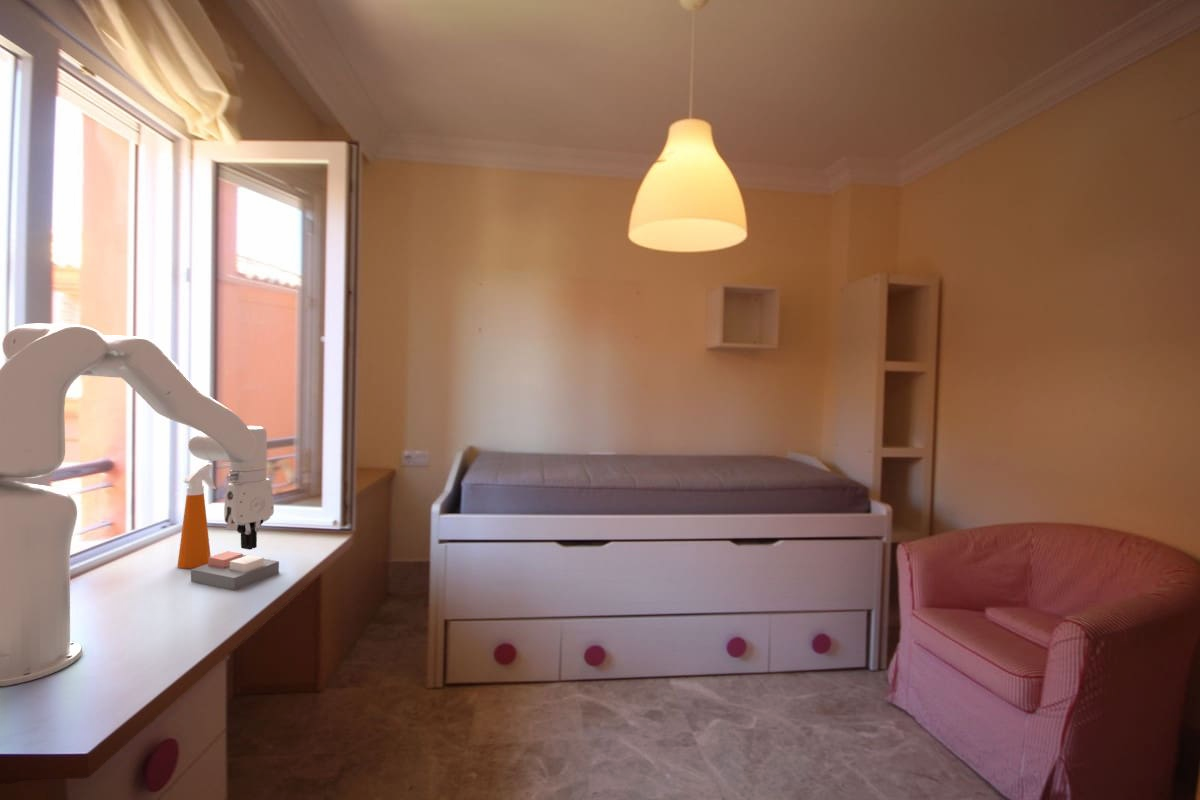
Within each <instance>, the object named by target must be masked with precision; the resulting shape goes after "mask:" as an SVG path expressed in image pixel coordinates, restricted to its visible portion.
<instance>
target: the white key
mask: <svg viewBox="0 0 1200 800" xmlns="http://www.w3.org/2000/svg"><path fill="white" fill-rule="evenodd" d="M264 559H265V558H264V557H263V556H258V555H257V556H256V555H251V554H247V556H244V557H241V558H238V559H235V560H232V561H230V570H233V571H238V572H243V573H246V572H249V571H251V570H254V569H257V568H259V567H262V566H264Z"/></svg>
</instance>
